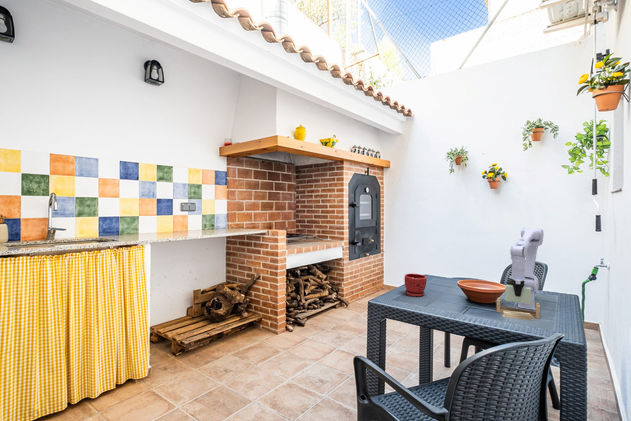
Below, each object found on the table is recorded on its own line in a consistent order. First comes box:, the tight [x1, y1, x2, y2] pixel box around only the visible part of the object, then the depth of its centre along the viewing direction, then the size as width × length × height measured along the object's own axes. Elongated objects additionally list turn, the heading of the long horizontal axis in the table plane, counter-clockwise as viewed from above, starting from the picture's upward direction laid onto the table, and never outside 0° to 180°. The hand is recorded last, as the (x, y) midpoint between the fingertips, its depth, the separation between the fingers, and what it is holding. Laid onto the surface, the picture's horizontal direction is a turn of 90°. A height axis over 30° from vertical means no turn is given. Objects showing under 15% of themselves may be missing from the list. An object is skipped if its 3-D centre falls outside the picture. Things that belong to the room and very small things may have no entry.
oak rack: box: [496, 297, 541, 320], centre depth 168 cm, size 7×18×6 cm, turn 58°
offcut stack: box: [501, 310, 535, 321], centre depth 162 cm, size 4×13×3 cm, turn 68°
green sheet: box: [504, 284, 531, 304], centre depth 168 cm, size 4×11×8 cm, turn 58°
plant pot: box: [404, 273, 427, 297], centre depth 202 cm, size 13×13×12 cm
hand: (517, 295), depth 168 cm, fingers closed on green sheet, 4 cm apart
